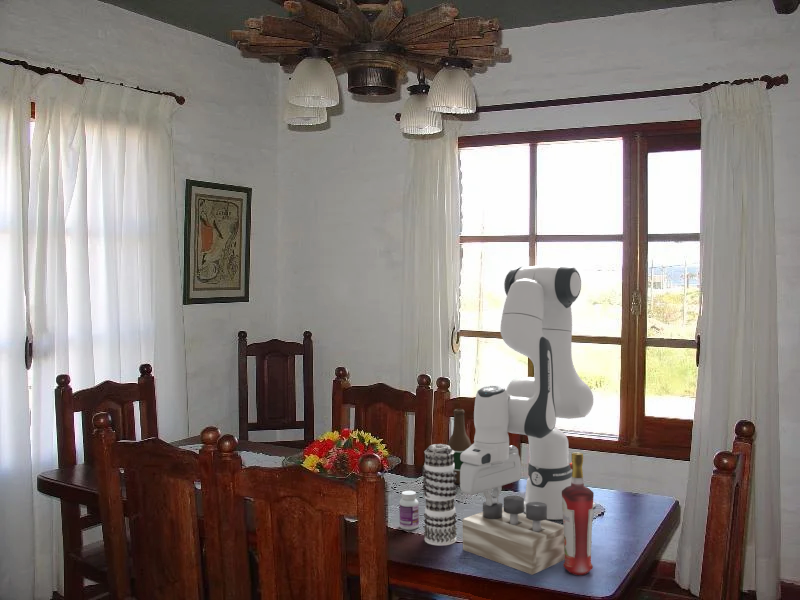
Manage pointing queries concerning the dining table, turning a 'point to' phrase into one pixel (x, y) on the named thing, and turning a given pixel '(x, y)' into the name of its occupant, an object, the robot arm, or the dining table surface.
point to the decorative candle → (439, 495)
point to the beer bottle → (458, 441)
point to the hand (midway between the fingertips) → (492, 504)
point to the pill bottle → (409, 511)
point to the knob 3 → (536, 514)
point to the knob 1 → (492, 511)
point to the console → (514, 541)
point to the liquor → (577, 520)
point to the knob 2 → (513, 507)
